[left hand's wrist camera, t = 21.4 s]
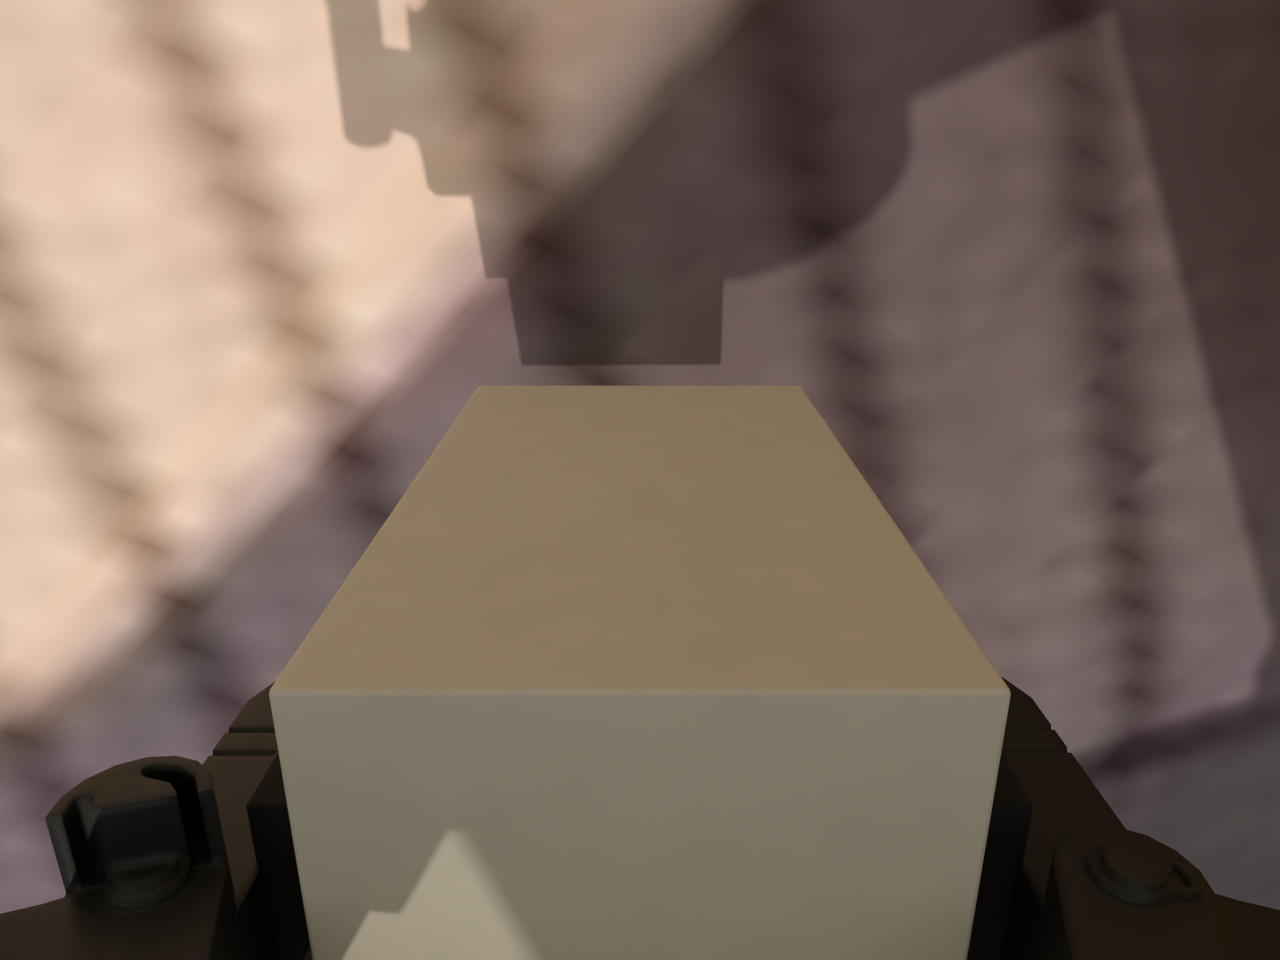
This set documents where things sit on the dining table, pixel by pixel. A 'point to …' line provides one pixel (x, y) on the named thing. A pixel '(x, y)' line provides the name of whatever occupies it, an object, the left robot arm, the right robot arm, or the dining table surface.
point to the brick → (639, 700)
